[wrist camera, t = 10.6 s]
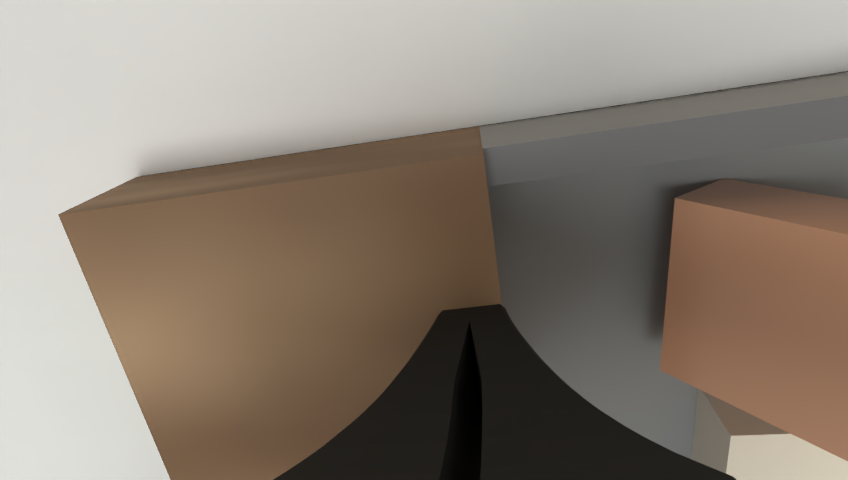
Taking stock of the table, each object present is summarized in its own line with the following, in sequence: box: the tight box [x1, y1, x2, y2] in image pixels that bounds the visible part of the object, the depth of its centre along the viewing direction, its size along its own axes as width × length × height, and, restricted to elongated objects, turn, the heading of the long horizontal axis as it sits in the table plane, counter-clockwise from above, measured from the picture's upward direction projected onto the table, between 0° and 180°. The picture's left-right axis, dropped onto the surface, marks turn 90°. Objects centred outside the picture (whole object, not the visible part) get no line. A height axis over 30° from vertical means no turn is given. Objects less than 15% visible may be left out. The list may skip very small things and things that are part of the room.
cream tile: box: [691, 389, 848, 480], centre depth 15 cm, size 4×4×2 cm
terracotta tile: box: [660, 178, 848, 461], centre depth 12 cm, size 4×4×2 cm
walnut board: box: [59, 126, 502, 480], centre depth 15 cm, size 14×9×3 cm, turn 9°
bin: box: [479, 71, 848, 459], centre depth 14 cm, size 14×11×2 cm
